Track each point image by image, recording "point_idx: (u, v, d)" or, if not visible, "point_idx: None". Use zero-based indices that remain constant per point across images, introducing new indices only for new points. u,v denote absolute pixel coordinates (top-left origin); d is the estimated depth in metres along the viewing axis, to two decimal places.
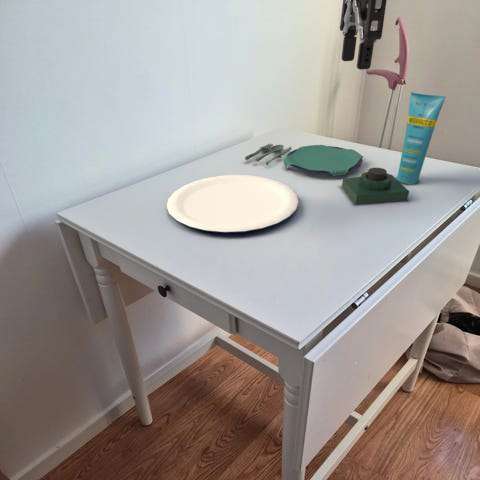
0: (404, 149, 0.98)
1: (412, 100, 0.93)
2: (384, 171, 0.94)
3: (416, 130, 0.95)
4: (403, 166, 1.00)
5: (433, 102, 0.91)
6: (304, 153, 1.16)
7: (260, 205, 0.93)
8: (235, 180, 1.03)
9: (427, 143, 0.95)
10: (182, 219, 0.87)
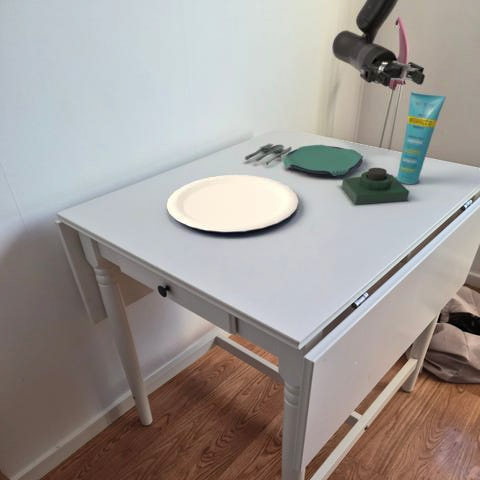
0: (404, 149, 0.98)
1: (412, 100, 0.93)
2: (384, 171, 0.94)
3: (416, 129, 0.95)
4: (403, 166, 1.00)
5: (433, 102, 0.91)
6: (304, 153, 1.16)
7: (260, 205, 0.93)
8: (235, 180, 1.03)
9: (427, 143, 0.95)
10: (182, 219, 0.87)
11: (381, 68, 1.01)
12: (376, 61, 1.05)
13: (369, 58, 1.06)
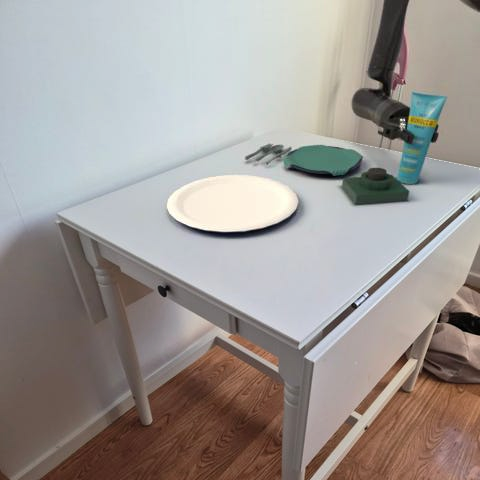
0: (405, 149, 0.98)
1: (413, 100, 0.93)
2: (384, 171, 0.94)
3: (417, 129, 0.95)
4: (403, 166, 1.00)
5: (434, 102, 0.91)
6: (304, 153, 1.16)
7: (260, 205, 0.93)
8: (235, 180, 1.03)
9: (428, 143, 0.95)
10: (182, 219, 0.87)
11: (402, 125, 0.98)
12: (393, 117, 1.03)
13: (386, 114, 1.04)
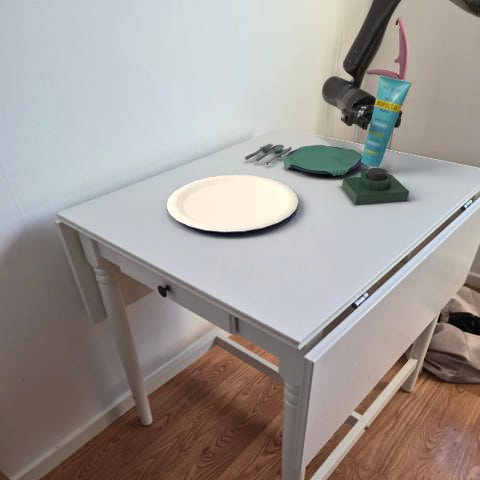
0: (370, 131, 1.02)
1: (381, 83, 0.96)
2: (384, 171, 0.94)
3: (382, 113, 0.98)
4: (367, 148, 1.04)
5: (400, 88, 0.95)
6: (304, 153, 1.16)
7: (260, 205, 0.93)
8: (235, 180, 1.03)
9: (391, 127, 0.99)
10: (182, 219, 0.87)
11: (360, 112, 1.02)
12: (357, 105, 1.07)
13: (350, 102, 1.08)
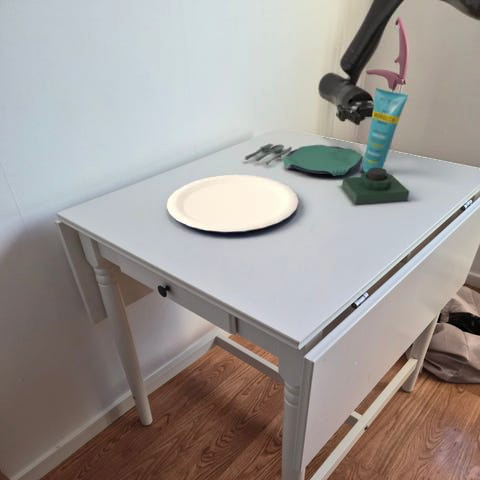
0: (369, 142, 1.02)
1: (377, 95, 0.95)
2: (384, 171, 0.94)
3: (380, 125, 0.98)
4: (367, 158, 1.04)
5: (396, 100, 0.94)
6: (304, 153, 1.16)
7: (260, 205, 0.93)
8: (235, 180, 1.03)
9: (390, 138, 0.99)
10: (182, 219, 0.87)
11: (354, 108, 1.05)
12: (352, 101, 1.09)
13: (346, 98, 1.11)
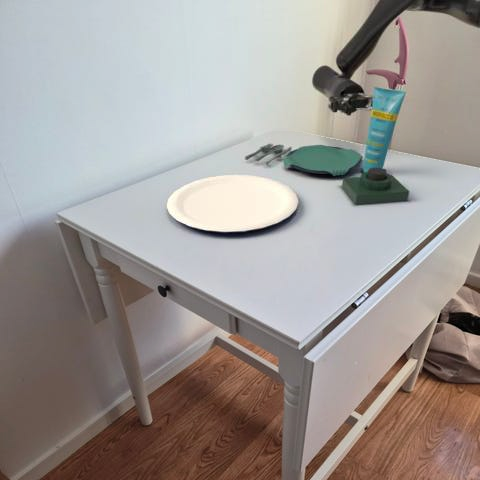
0: (368, 141, 1.03)
1: (375, 94, 0.97)
2: (384, 171, 0.94)
3: (379, 123, 0.99)
4: (367, 158, 1.05)
5: (394, 97, 0.95)
6: (304, 153, 1.16)
7: (260, 205, 0.93)
8: (235, 180, 1.03)
9: (389, 136, 1.00)
10: (182, 219, 0.87)
11: (345, 99, 1.09)
12: (344, 93, 1.14)
13: (338, 91, 1.15)
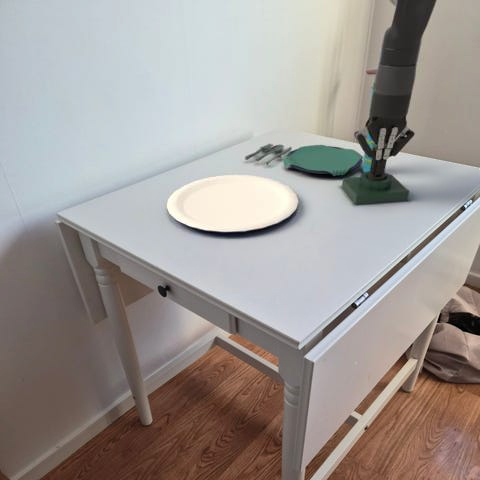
0: (367, 141, 1.03)
1: None
2: (383, 175, 0.95)
3: None
4: (366, 158, 1.05)
5: None
6: (304, 153, 1.16)
7: (260, 205, 0.93)
8: (235, 180, 1.03)
9: None
10: (182, 219, 0.87)
11: (379, 149, 0.90)
12: None
13: (377, 106, 0.84)
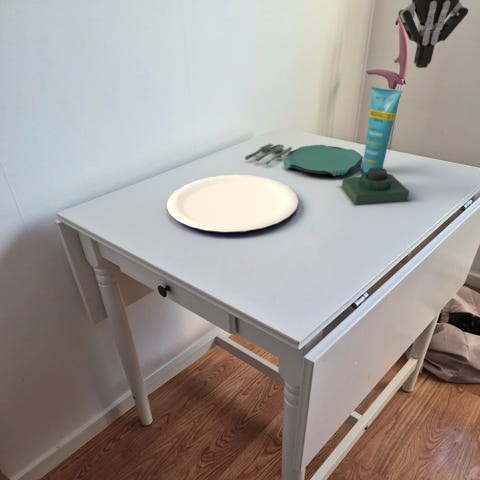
0: (367, 141, 1.03)
1: (373, 94, 0.98)
2: (384, 171, 0.94)
3: (376, 122, 1.00)
4: (366, 158, 1.05)
5: (391, 97, 0.96)
6: (304, 153, 1.16)
7: (260, 205, 0.93)
8: (235, 180, 1.03)
9: (387, 135, 1.00)
10: (182, 219, 0.87)
11: (427, 31, 0.79)
12: None
13: None
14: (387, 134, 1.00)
